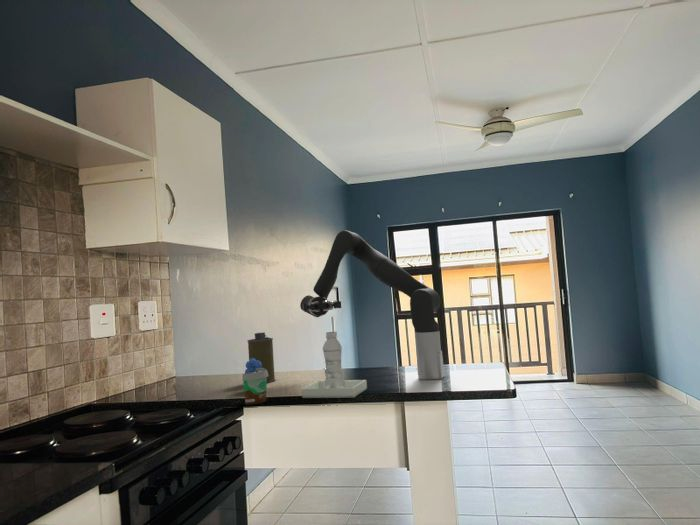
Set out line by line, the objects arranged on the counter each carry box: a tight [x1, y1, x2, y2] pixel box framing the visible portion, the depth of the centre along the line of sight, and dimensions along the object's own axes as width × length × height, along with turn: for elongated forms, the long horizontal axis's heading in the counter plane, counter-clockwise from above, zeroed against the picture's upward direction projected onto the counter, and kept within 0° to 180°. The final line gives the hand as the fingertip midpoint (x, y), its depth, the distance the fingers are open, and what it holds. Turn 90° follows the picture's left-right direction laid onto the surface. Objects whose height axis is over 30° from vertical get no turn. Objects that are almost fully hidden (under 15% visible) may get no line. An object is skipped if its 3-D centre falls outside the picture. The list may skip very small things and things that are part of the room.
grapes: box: [244, 358, 264, 374], centre depth 191 cm, size 12×7×12 cm, turn 47°
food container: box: [242, 369, 269, 406], centre depth 170 cm, size 12×6×10 cm, turn 168°
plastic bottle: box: [322, 331, 345, 388], centre depth 176 cm, size 6×7×20 cm
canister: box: [247, 332, 276, 384], centre depth 212 cm, size 11×10×20 cm
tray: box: [301, 379, 368, 399], centre depth 175 cm, size 18×15×3 cm
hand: (324, 306), depth 188 cm, fingers open, 8 cm apart
